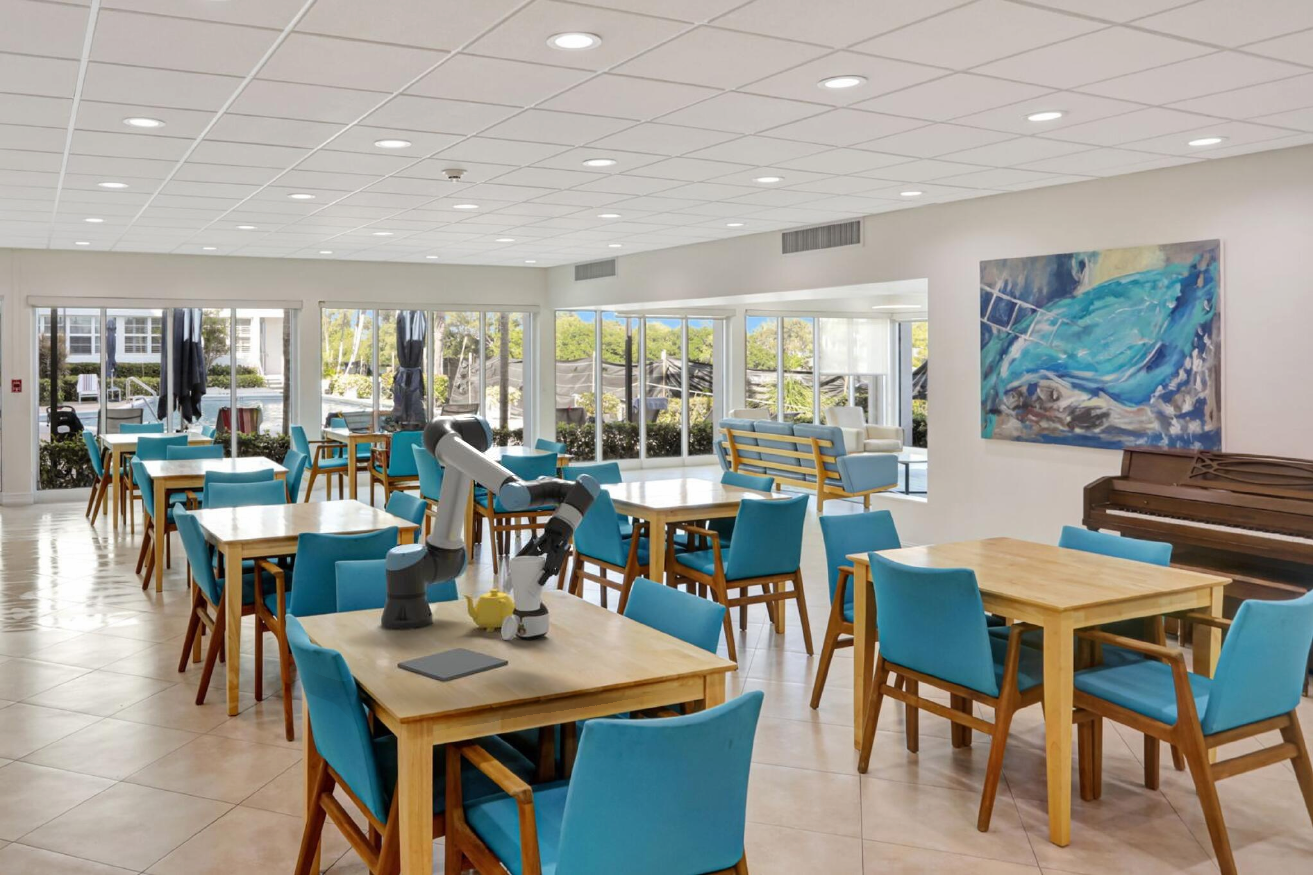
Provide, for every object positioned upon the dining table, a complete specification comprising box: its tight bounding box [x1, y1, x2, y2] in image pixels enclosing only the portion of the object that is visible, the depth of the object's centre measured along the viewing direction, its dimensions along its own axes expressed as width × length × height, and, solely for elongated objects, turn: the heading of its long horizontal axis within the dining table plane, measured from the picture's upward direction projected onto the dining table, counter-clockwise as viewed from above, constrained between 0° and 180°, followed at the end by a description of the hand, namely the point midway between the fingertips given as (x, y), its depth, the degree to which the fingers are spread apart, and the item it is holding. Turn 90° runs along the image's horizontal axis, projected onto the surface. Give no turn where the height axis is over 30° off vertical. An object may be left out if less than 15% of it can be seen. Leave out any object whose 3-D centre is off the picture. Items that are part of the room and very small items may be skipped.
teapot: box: [462, 588, 515, 633], centre depth 302 cm, size 20×15×12 cm
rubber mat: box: [397, 647, 509, 682], centre depth 264 cm, size 20×20×1 cm
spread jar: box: [500, 595, 550, 641], centre depth 291 cm, size 12×11×12 cm
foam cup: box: [508, 556, 546, 611], centre depth 269 cm, size 10×9×13 cm
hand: (518, 591), depth 267 cm, fingers closed on foam cup, 9 cm apart
